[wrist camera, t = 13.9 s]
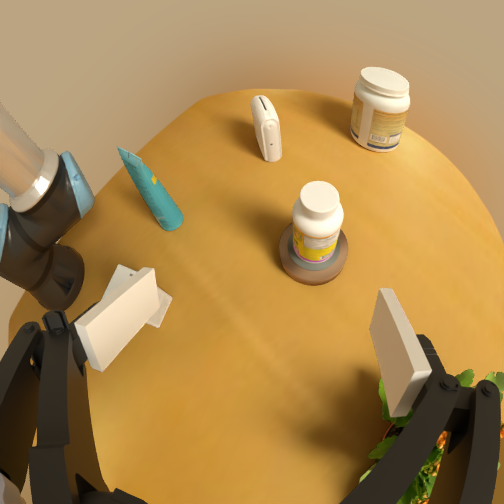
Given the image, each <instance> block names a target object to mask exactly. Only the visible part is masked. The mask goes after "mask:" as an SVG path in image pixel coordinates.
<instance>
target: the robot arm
mask: <svg viewBox="0 0 504 504" xmlns="http://www.w3.org/2000/svg"><path fill="white" fill-rule="evenodd" d="M0 188H1V189H3V190H4V191H5V192H7V193H8V194H9V195H10V205H11V206H10V207H8V205H7V204H4V203H1V204H0V276H1V277H3V278H5V279H6V280H8V281H10V282H12V283H14V284H15V285H17V286H19V287H21V288H23V289H25V290H27V291H29V292H30V293H31V294H32V295H33V296H34V297H35V298H36V299H37V300H38V302H39V303H40V304H41V305H42V306H43V307H44V308H45V309H48V310H50V311H49V312H47V313H46V314H45V315H43V317H42V320H43V323H44V325H45V328H46V330H47V331H42V330H41V328H40V326H39V323H37V322H27V323H25V324H24V325H23V326H22V327H21V328H20V330H19V331H18V333H17V334H16V336H15V337H14V339H13V341H12V342H11V344H10V346H9V347H8V349H7V351H6V352H5V354H4V356H3V358H2V360H1V362H0V504H26V502H25V500H24V499H23V498H22V497H21V496H20V494H21V491H22V489H23V486H24V483H25V479H26V474H27V469H28V464H29V475H30V486H31V494H32V502H33V504H148V503H146V502H145V501H143V500H142V499H139V498H137V497H135V496H132V495H130V494H128V493H126V492H124V491H122V490H119V489H117V488H116V489H115V490H114V492H110V491H109V489H108V487H107V485H106V484H105V482H104V480H103V478H102V475H101V471H100V467H99V462H98V458H97V453H96V448H95V442H94V437H93V431H92V424H91V417H90V409H89V400H88V389H87V375H86V367H85V364H84V362H85V361H86V360H87V359H88V361H89V363H90V365H91V368H93V369H96V370H98V371H101V372H103V371H104V370H105V369H106V368H107V367H108V365H109V364H110V363H111V362H112V361H113V360H114V358H115V357H116V356H117V355H118V354H119V353H120V352H121V350H122V349H123V348H124V347H125V346H126V345H127V343H128V342H129V341H130V340H131V339H132V338H133V337H134V336H135V334H136V333H137V332H138V331H139V330H140V329H141V328H142V327H143V325H144V324H145V323H146V322H147V321H148V320H149V319H150V318H151V316H152V315H153V314H154V313H155V312H156V311H157V310H158V309H159V308H160V304H159V298H158V292H157V285H156V279H155V271H154V268H147V267H143V268H142V269H141V270H139V271H138V272H137V273H135V274H134V275H133V276H132V277H130V278H129V279H128V280H126V281H125V282H124V283H123V284H121V285H120V286H119V287H117V288H116V289H115V290H114V291H112V292H111V293H110V294H109V295H107V296H106V297H105V298H104V299H102V300H101V301H99V302H97V303H95V304H93V305H92V306H90V307H89V308H88V310H86V311H84V312H83V313H82V314H81V315H79V316H78V317H77V318H76V319H75V320H73V321H72V322H71V323H70V324H68V321H67V318H66V315H65V312H64V310H65V309H67V308H68V307H69V306H70V305H71V304H72V303H73V302H74V300H75V299H76V297H77V296H78V294H79V292H80V289H81V286H82V283H83V279H84V263H83V260H82V257H81V256H80V254H79V253H78V252H76V251H75V250H74V249H72V248H70V247H68V246H62V245H60V244H56V242H57V241H58V240H59V239H60V238H61V237H62V236H63V235H64V234H65V233H66V232H67V231H68V230H70V229H71V228H72V227H73V226H74V225H75V224H76V223H77V222H78V221H80V220H81V219H82V218H83V216H84V215H85V214H86V213H87V212H88V211H89V210H90V209H91V208H92V207H93V205H94V201H95V199H94V195H93V193H92V191H91V189H90V187H89V185H88V183H87V181H86V179H85V177H84V175H83V173H82V171H81V170H80V168H79V166H78V164H77V163H76V161H75V159H74V158H73V156H72V154H71V153H70V152H68V151H65V152H64V153H62V154H61V155H60V156H59V155H58V154H57V153H56V152H55V151H54V150H53V149H43V150H41V149H40V148H39V147H38V146H37V145H36V144H35V143H34V142H33V140H31V138H30V137H29V136H28V135H27V134H26V133H25V132H24V130H23V129H22V128H21V127H20V126H19V124H18V123H17V122H16V121H15V120H14V118H13V117H12V116H11V115H10V114H9V112H8V111H7V110H6V109H5V108H4V107H3V105H2V104H1V102H0ZM369 330H370V333H371V337H372V340H373V344H374V348H375V352H376V356H377V359H378V363H379V367H380V372H381V376H382V380H383V384H384V389H385V394H386V398H387V403H388V408H389V413H390V417H401V416H407V414H408V412H409V411H410V409H411V407H412V411H413V416H412V418H411V419H410V421H409V422H408V424H407V425H406V426H405V428H404V429H403V431H402V432H401V434H400V435H399V436H398V438H397V439H396V440H395V442H394V443H393V444H392V446H391V447H390V448H389V450H388V451H387V452H386V453H385V455H384V456H383V457H382V458H381V460H380V461H379V462H378V463H377V464H376V466H375V467H374V468H373V469H372V470H371V471H370V472H369V474H368V475H367V476H366V477H365V478H364V479H363V480H362V481H361V482H360V483H359V485H358V486H357V487H356V488H355V489H354V490H353V491H352V492H351V493H350V494H349V495H348V496H347V497H346V498H345V499H344V500H343V501H342V502H341V503H340V504H396V503H397V502H398V501H399V500H400V498H401V497H402V496H403V494H404V493H405V492H406V490H407V489H408V487H409V486H410V485H411V483H412V482H413V480H414V479H415V477H416V476H417V474H418V473H419V471H420V470H421V468H422V466H423V465H424V463H425V462H426V460H427V458H428V457H429V455H430V453H431V451H432V450H433V448H434V446H435V444H436V443H437V441H438V439H439V437H440V435H441V433H442V431H446V432H447V436H446V441H445V445H444V450H443V454H442V458H441V462H440V465H439V469H438V472H437V476H436V479H435V482H434V485H433V488H432V491H431V494H430V497H429V500H428V502H427V504H491V503H492V499H493V494H494V489H495V482H496V476H497V469H498V461H499V450H500V431H501V407H500V392H499V388H498V387H497V385H496V384H495V383H493V382H492V381H489V380H481V381H479V382H478V384H477V385H476V387H475V388H470V387H463V386H461V384H460V382H459V381H458V379H457V378H456V377H454V376H452V375H449V374H446V372H445V369H444V367H443V365H442V363H441V361H440V359H439V357H438V355H437V353H436V351H435V349H434V347H433V345H432V343H431V341H430V340H429V339H428V338H427V337H426V336H425V335H424V334H421V335H416V334H415V332H414V330H413V328H412V326H411V324H410V322H409V320H408V318H407V316H406V314H405V312H404V310H403V308H402V306H401V304H400V303H399V301H398V299H397V297H396V295H395V293H394V291H393V290H392V288H379V292H378V296H377V301H376V305H375V309H374V313H373V317H372V321H371V325H370V328H369ZM31 358H32V360H33V362H34V363H33V365H31V364H30V359H31ZM36 428H37V446H36V447H32V444H33V440H34V436H35V432H36Z"/></svg>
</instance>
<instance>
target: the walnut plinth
mask: <svg viewBox="0 0 504 504" xmlns="http://www.w3.org/2000/svg"><path fill="white" fill-rule="evenodd" d="M279 251H280V259H281V263H282V266H283V268H284V270H285V271H286V273H287V274H288V275H289V276H290V277H291V278H292V279H294V280H295V281H297V282H299V283H302V284H305V285H311V286H317V285H322V284H326V283H328V282H330V281H332V280H333V279H334V278H336V277H337V276H338V274H339V273H340V272H341V270H342V268H343V266H344V264H345V261H346V258H347V255H348V243H347V239H346V237H345V235H344V233H343V232H342V230H341V229H340V232H339V236H338V240H337V244H336V247H335V250H334V253H333V254H332V256H331V257H330V258H329V259H328V260H326V261H324V262H322V263H308V262H305V261H304V260H302V259H301V258H300V257H299V256H298V255H297V254H296V252H295V250H294V247H293V223H291V224H290V225H289V226H288V227H287V228H286V229H285V230H284V232H283V234H282V236H281V239H280V243H279Z"/></svg>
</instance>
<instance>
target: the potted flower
mask: <svg viewBox="0 0 504 504" xmlns="http://www.w3.org/2000/svg"><path fill="white" fill-rule="evenodd" d="M494 373H495V372H490V373H489V374H488V375H487V376H486V378H485V379H484V380H489V381H492V382H493V383H495V384H496V385H497V387H498V388H499V392H500V404H501V401H502V399H503V394H502V393H501V392H502V391H504V373H502V372H497V374H496V377H495V376H494ZM455 377H456V378H457V379H458V381H459V382H460V384H461V386H463V387H470V384H472V382H473V378H474V373H473V370H472V369H469V370H465V371H464V372H462V373H461V374H460V375H459V374H458V375H456V376H455ZM379 387H380V388H379V389H378V392H379V396H380V398H381V401H382V402H383V405H382V412H383V415H382V418H384V419H383V420H388V421H391V423H393V424H392V425H391V426H390V427H389V428H388V429H387V431H386V433H385V435H384V437H383V440H382V442H380V443H379V444H377V445H376V448H375V449H374V450H372V451H371V453H370V454H368V456H369V457H368V458H369V459H377V458H378V461H377V462H376V463H375V464H374V465H373V466H372V467H370V468H369V469H368V471H367V472H366V473H365V474H363V475H362V476H361V477H360V479H359V483H360V482H361V481H362V480H363V479H364V478H365V477H366V476H367V475H368V474H369V472H370V471H371V470H372V469H373V468H374V467H375V466H376V464H377V463H378V462H379V461H380V460H381V458H382V457H383V456H384V455H385V453H386V452H387V451H388V450H389V448H390V447H391V446H392V444H393V443H394V442H395V440H396V439H397V438H398V436H399V435H400V434H401V432H402V431H403V429H404V428H405V426H406V425H407V424H408V422H409V421H410V419H411V418H412V416H413V411H412V407H411V409H410V411H409V412H408V414H407V416H401V417H390V413H389V408H388V403H387V398H386V394H385V389H384V384H383V380H382V378H381V379H380V381H379ZM475 387H476V386H474V387H470V388H475ZM446 436H447V432H446V431H442V433H441V435H440V437H439V439H438V441H437V443H436V444H435V446H434V448H433V450H432V451H431V453H430V455H429V457H428V458H427V460H426V462H425V463H424V465H423V466H422V468H421V470H420V471H419V473H418V474H417V476H416V477H415V479H414V480H413V482H412V483H411V485H410V486H409V487H408V489H407V490H406V492H405V493H404V494H403V496H402V497H401V498H400V500H399V501H398V502H397V503H396V504H411V501H412V504H427V502H428V500H429V497H430V494H431V491H432V488H433V485H434V482H435V479H436V476H437V472H438V469H439V465H440V462H441V458H442V454H443V450H444V445H445V441H446ZM502 437H504V424H503V423H502V421H501V431H500V438H502ZM499 467H500V463H499V461H498V469H499ZM498 469H497V470H498ZM425 490H426V491H425ZM424 492H425V493H424ZM426 494H427V497H428V498H423V496H424V495H426ZM418 499H419V500H418Z"/></svg>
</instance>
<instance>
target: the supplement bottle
mask: <svg viewBox="0 0 504 504" xmlns="http://www.w3.org/2000/svg"><path fill="white" fill-rule="evenodd" d="M292 220H293V247H294V250H295V252H296V254H297V255H298V256H299V257H300V258H301V259H302V260H304V261H305V262H308V263H322V262H324V261H326V260H328V259H329V258H330V257H331V256H332V254H333V253H334V250H335V247H336V244H337V240H338V236H339V232H340V229H341V225H342V221H343V209H342V206H341V204H340V202H339V194H338V192H337V190H336V188H335V187H334V186H332V185H331V184H329V183H327V182H323V181H314V182H310V183H308V184H306V185H305V186H304V187H303V188H302V190H301V192H300V197H299V198H298V199H297V200H296V202H295V204H294V206H293V211H292Z"/></svg>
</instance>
